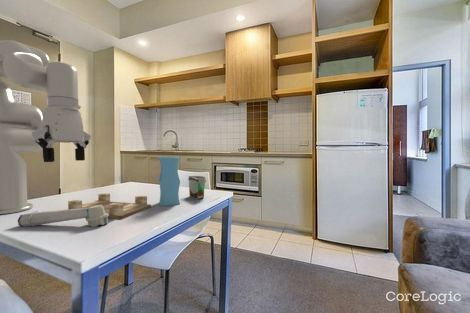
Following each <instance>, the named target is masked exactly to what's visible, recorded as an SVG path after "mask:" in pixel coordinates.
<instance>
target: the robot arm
mask: <svg viewBox="0 0 470 313" xmlns="http://www.w3.org/2000/svg"><path fill="white" fill-rule="evenodd" d="M1 78H5V79H8V80H9V81H11V82H12V83H13V84H14V85H16V86H19V87H21V88H24V89H25V88H26V89H30V90H36V91H41V92H45V93H46V94H47V97H46V98H47V99H46V100H47V107H44V109H43V112H42V111H41V109H40V108H39V107H37V106H36V105H33V104H29V103H28V104H27V103H22V102H19V101H16V99H15V96H14V91H13V90H12V88H11V87H10V86H9V85H8V84H7V83H6V82H4V81H3V80H2V79H1ZM78 81H79V80H78V70H77V69H76V67H75V66H73V65H71V64H69V63H65V62H61V61H51V60H50V57H49V56H48V54H47V53H46V52H45V51H44V50H42V49H40V48H37V47H35V46H32V45H28V44H25V43H22V42H19V41H17V40H12V39H2V40H0V215H6V214H7V215H8V214H14V213H19V212H23V211H27V210H31V209H32V208H33V207H34V204H33V203H29V202H28V178H27V177H28V176H27V174H28V173H27V170H28V169H27V162H26V161H25V159H24V158H22V157H23V156H20V154H19V153H37V152H38V153H40V152H42V158H43V163H54V162H55V148H54V147H53V146H54V145H55V143H73V144H74V147H76V148H75V149H74V153H75V154H74V155H75V156H74V157H75V158H74V159H75V161H76V162H77V161H79V162H80V161H85V160H86V155H85V154H86V153H85V149H86V148H87V146H88V144H89V143H90V140H91V138H92V136H91V134H88V132H86V131H84V125H83V123H84V122H83V118H82V115H81V114H82V113H81V111H80V110H81V108H82V106H81V105H80V104H79V87H78V86H79V85H78Z"/></svg>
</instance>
